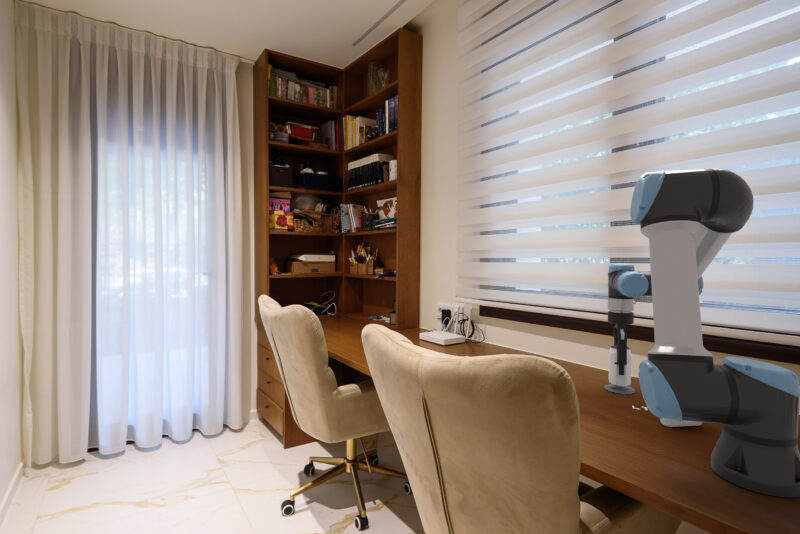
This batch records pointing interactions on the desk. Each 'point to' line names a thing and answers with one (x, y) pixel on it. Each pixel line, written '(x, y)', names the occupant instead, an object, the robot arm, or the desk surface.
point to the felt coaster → (619, 389)
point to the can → (613, 366)
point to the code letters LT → (639, 409)
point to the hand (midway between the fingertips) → (619, 381)
